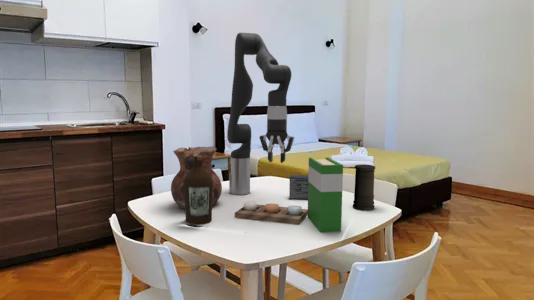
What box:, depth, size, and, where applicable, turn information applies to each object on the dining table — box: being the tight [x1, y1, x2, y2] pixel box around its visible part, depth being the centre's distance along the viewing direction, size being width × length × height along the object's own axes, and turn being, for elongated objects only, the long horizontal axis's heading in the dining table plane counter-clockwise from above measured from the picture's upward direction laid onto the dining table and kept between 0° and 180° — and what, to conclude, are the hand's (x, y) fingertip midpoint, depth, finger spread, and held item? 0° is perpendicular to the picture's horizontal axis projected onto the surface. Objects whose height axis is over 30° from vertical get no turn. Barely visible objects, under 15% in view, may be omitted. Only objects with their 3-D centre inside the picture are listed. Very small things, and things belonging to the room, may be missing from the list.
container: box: [352, 164, 376, 211], centre depth 176 cm, size 9×9×18 cm
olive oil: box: [183, 156, 213, 228], centre depth 153 cm, size 11×11×25 cm
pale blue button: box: [288, 205, 303, 216], centre depth 158 cm, size 5×5×2 cm
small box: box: [288, 174, 308, 201], centre depth 192 cm, size 11×6×10 cm, turn 84°
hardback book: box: [307, 156, 344, 233], centre depth 150 cm, size 18×7×24 cm, turn 8°
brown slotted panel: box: [234, 204, 308, 226], centre depth 161 cm, size 25×14×3 cm, turn 71°
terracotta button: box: [265, 202, 280, 213], centre depth 160 cm, size 5×5×2 cm
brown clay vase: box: [170, 146, 223, 210], centre depth 176 cm, size 22×21×25 cm
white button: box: [243, 200, 257, 211], centre depth 163 cm, size 5×5×2 cm
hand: (276, 161), depth 163 cm, fingers open, 4 cm apart
